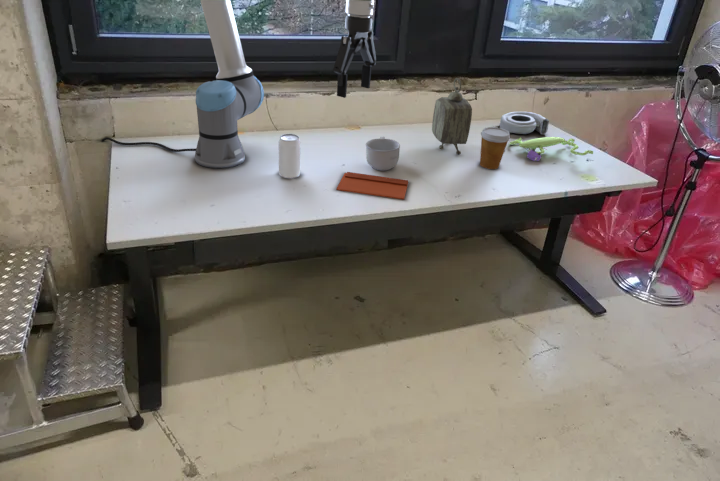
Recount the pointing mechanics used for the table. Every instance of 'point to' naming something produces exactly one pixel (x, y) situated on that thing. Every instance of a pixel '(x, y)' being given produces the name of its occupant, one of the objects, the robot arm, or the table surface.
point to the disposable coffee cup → (493, 146)
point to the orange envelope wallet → (373, 185)
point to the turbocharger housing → (524, 122)
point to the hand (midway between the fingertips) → (353, 91)
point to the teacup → (382, 153)
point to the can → (289, 156)
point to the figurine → (546, 142)
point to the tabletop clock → (452, 119)
